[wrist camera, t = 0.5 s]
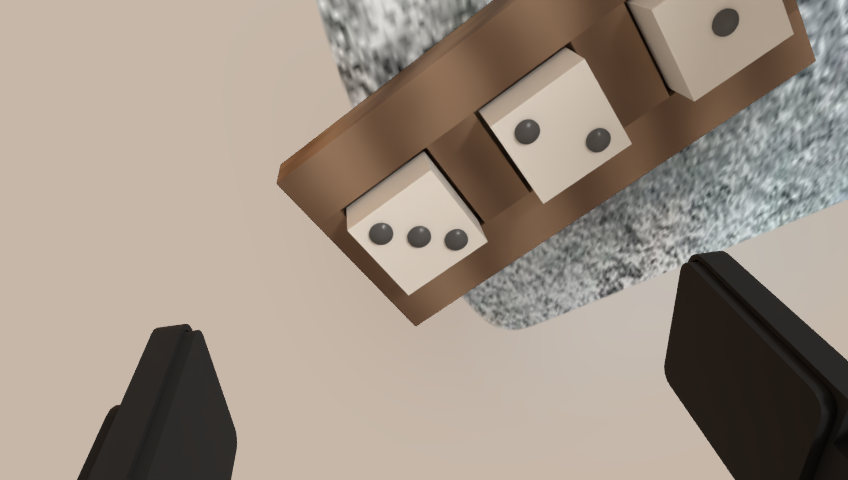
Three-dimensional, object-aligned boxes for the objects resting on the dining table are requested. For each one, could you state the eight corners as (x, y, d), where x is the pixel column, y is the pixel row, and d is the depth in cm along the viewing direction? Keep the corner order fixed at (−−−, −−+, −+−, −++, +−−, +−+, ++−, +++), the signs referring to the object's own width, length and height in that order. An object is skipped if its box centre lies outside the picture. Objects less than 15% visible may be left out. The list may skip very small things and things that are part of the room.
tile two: (565, 47, 33) (585, 59, 31) (610, 127, 36) (633, 144, 33) (478, 110, 35) (490, 127, 32) (529, 183, 37) (544, 205, 35)
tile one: (724, -70, 31) (760, -68, 29) (759, 24, 34) (795, 34, 32) (626, 2, 33) (652, 10, 30) (668, 87, 35) (695, 102, 33)
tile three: (424, 150, 35) (431, 170, 33) (477, 219, 38) (488, 242, 35) (346, 207, 37) (347, 231, 34) (403, 270, 39) (408, 296, 37)
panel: (705, -165, 31) (738, -171, 29) (783, 50, 38) (815, 60, 35) (280, 164, 37) (276, 183, 35) (410, 301, 44) (415, 326, 41)
